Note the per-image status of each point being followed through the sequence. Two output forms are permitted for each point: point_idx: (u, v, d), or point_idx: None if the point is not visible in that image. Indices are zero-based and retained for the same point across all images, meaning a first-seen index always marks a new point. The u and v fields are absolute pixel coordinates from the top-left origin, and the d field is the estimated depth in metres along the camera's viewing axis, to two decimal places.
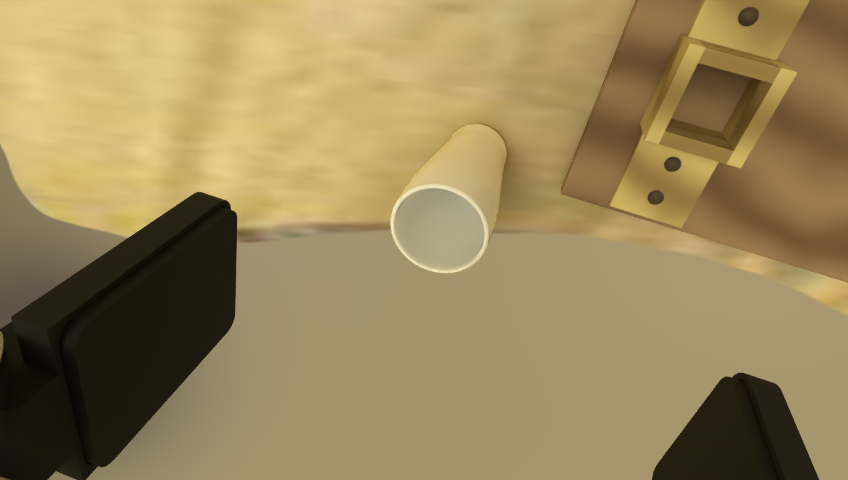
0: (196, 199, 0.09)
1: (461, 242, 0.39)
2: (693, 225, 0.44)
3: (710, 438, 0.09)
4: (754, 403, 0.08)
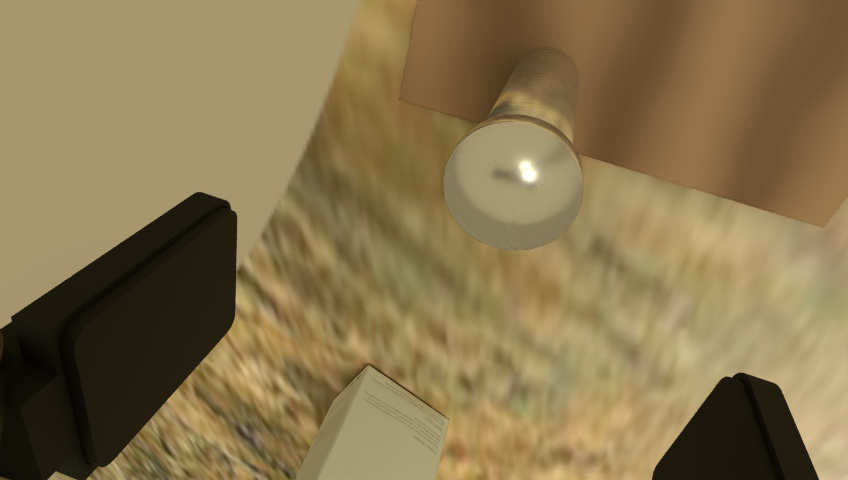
0: (196, 199, 0.09)
1: None
2: None
3: (710, 438, 0.09)
4: (754, 403, 0.08)
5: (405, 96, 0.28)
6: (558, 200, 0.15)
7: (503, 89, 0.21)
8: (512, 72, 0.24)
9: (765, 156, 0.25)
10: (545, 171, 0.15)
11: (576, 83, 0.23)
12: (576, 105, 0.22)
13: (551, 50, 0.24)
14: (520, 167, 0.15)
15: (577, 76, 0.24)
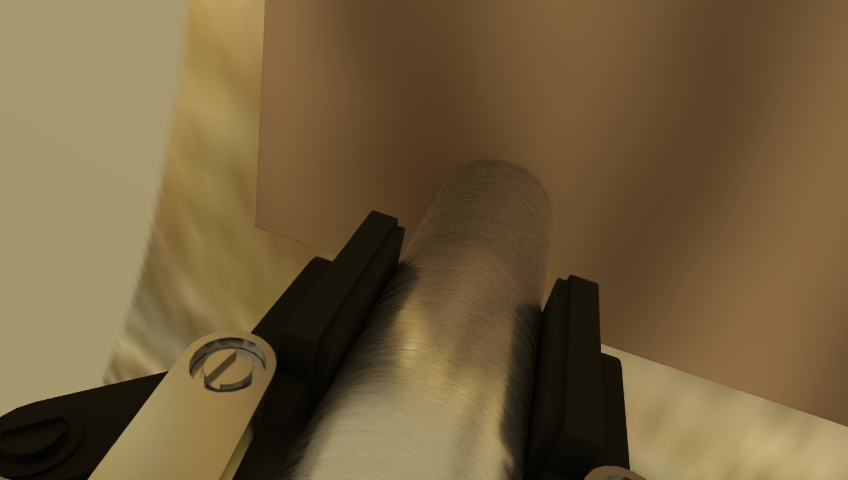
0: (375, 217, 0.10)
1: None
2: None
3: (541, 330, 0.10)
4: (570, 294, 0.09)
5: (264, 223, 0.17)
6: None
7: (383, 291, 0.10)
8: (425, 215, 0.13)
9: None
10: None
11: (544, 247, 0.12)
12: None
13: (499, 171, 0.13)
14: None
15: (548, 219, 0.13)
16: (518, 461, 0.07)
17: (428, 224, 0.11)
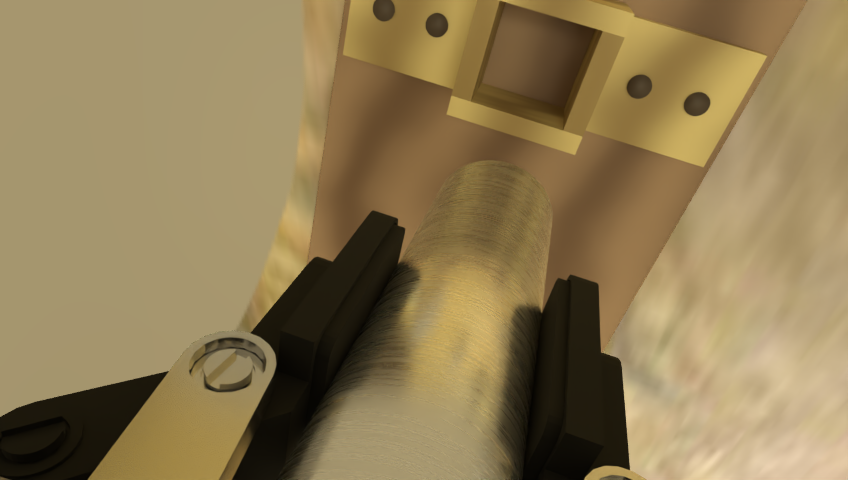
0: (375, 217, 0.10)
1: None
2: (348, 70, 0.32)
3: (541, 330, 0.10)
4: (570, 294, 0.09)
5: None
6: None
7: (382, 293, 0.10)
8: (424, 217, 0.13)
9: None
10: None
11: (544, 248, 0.12)
12: (541, 312, 0.11)
13: (499, 172, 0.13)
14: None
15: (548, 220, 0.13)
16: (517, 464, 0.07)
17: (427, 225, 0.11)
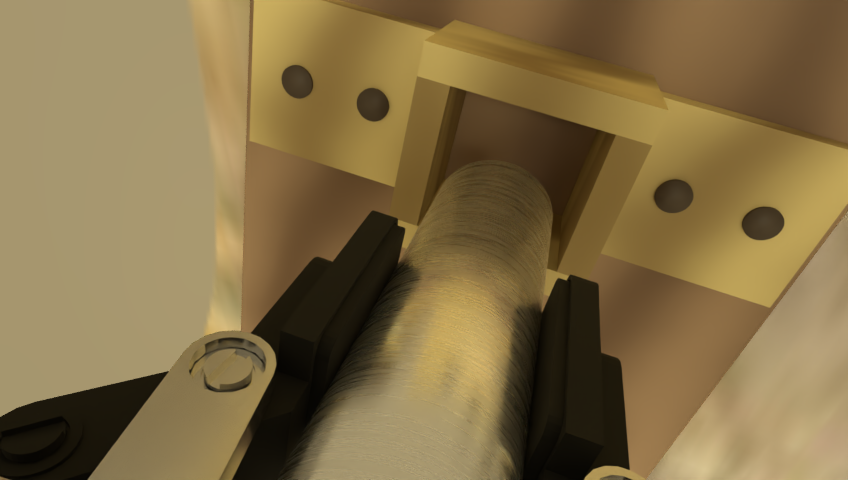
0: (375, 217, 0.10)
1: None
2: (262, 157, 0.23)
3: (541, 330, 0.10)
4: (570, 295, 0.09)
5: None
6: None
7: (382, 293, 0.10)
8: None
9: None
10: None
11: (544, 248, 0.12)
12: (541, 312, 0.11)
13: (499, 172, 0.13)
14: None
15: (548, 220, 0.13)
16: (517, 464, 0.07)
17: (427, 225, 0.11)
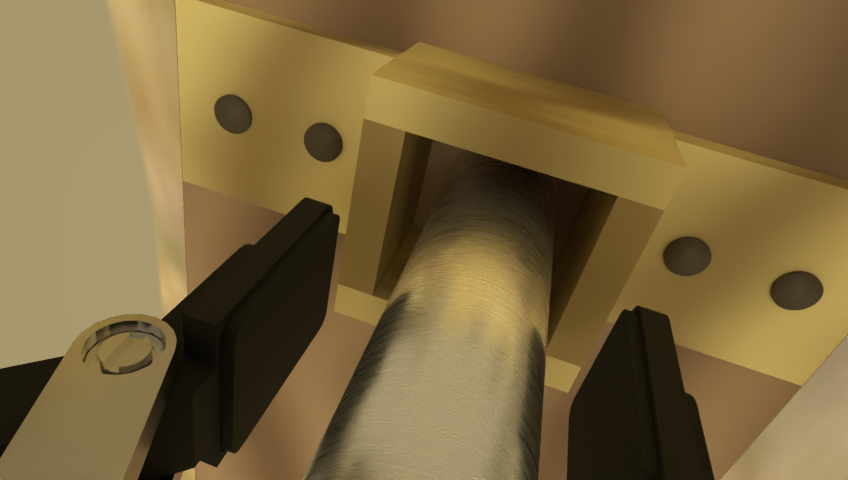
0: (306, 204, 0.10)
1: None
2: (202, 198, 0.19)
3: (608, 364, 0.10)
4: (642, 328, 0.09)
5: None
6: None
7: (416, 245, 0.12)
8: None
9: None
10: None
11: (552, 209, 0.14)
12: None
13: None
14: None
15: (554, 186, 0.15)
16: (541, 369, 0.09)
17: (450, 190, 0.13)
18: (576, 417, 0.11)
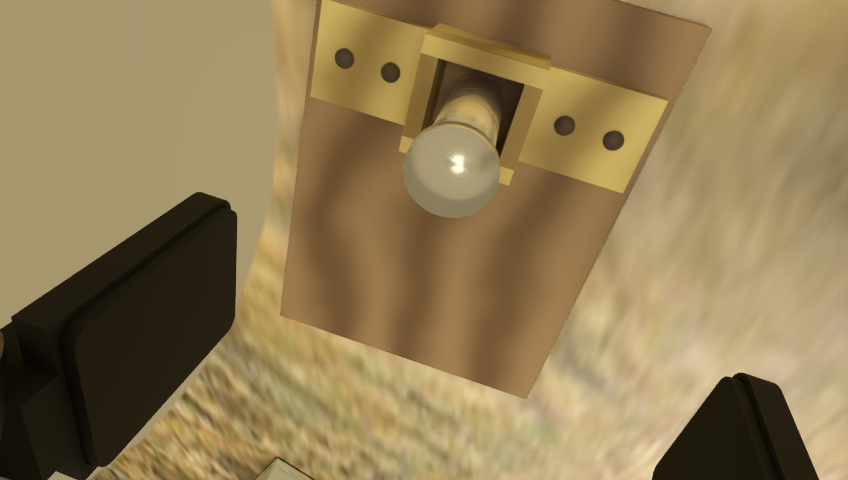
0: (196, 199, 0.09)
1: None
2: (315, 108, 0.36)
3: (710, 438, 0.09)
4: (754, 403, 0.08)
5: (283, 314, 0.46)
6: (483, 180, 0.22)
7: (445, 102, 0.28)
8: None
9: (487, 362, 0.43)
10: (473, 160, 0.21)
11: (501, 96, 0.30)
12: (501, 113, 0.29)
13: (482, 71, 0.31)
14: (456, 157, 0.22)
15: (503, 91, 0.31)
16: (495, 128, 0.25)
17: (456, 86, 0.30)
18: None
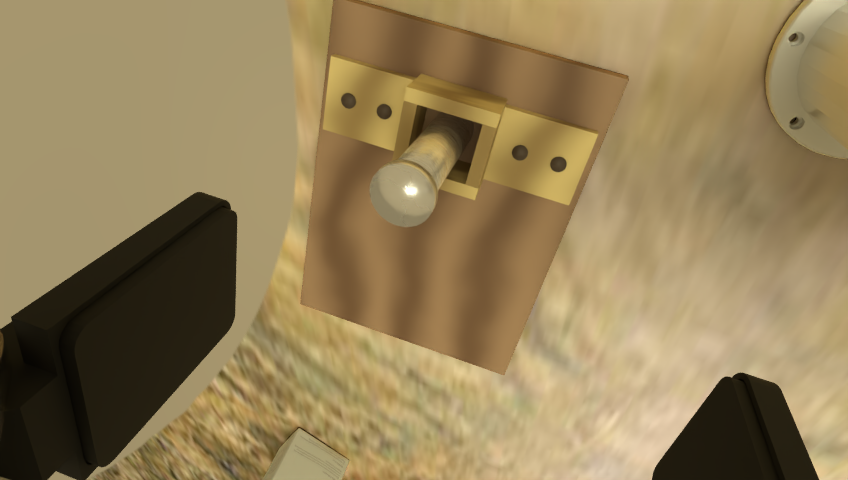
0: (196, 199, 0.09)
1: None
2: (327, 138, 0.45)
3: (710, 438, 0.09)
4: (754, 403, 0.08)
5: (303, 302, 0.55)
6: (423, 201, 0.31)
7: None
8: None
9: (470, 343, 0.52)
10: (415, 187, 0.31)
11: (465, 132, 0.39)
12: (461, 146, 0.38)
13: None
14: (404, 185, 0.31)
15: (469, 126, 0.40)
16: (446, 161, 0.34)
17: (429, 124, 0.39)
18: None
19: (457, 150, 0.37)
